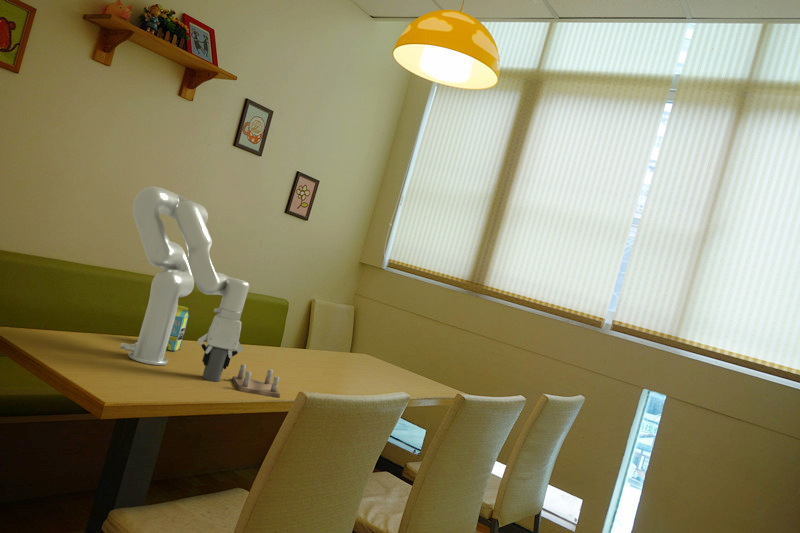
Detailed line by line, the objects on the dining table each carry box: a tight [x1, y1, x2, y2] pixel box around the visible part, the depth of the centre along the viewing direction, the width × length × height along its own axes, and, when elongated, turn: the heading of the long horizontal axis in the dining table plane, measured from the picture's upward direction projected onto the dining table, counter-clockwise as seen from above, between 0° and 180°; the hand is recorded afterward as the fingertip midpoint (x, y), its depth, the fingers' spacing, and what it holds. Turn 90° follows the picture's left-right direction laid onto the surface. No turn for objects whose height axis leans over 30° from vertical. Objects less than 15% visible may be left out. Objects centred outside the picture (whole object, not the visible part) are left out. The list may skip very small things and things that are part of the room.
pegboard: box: [231, 363, 281, 398], centre depth 212 cm, size 14×14×6 cm
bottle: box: [201, 347, 228, 383], centre depth 208 cm, size 6×6×15 cm
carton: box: [166, 304, 190, 353], centre depth 235 cm, size 7×8×18 cm
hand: (214, 365), depth 208 cm, fingers closed on bottle, 5 cm apart
